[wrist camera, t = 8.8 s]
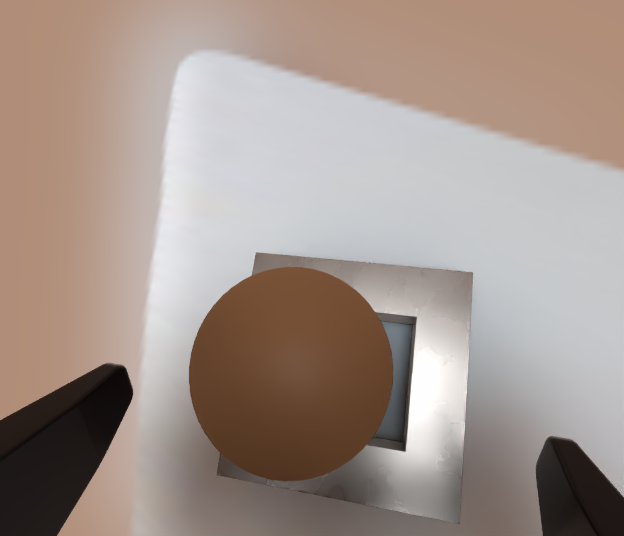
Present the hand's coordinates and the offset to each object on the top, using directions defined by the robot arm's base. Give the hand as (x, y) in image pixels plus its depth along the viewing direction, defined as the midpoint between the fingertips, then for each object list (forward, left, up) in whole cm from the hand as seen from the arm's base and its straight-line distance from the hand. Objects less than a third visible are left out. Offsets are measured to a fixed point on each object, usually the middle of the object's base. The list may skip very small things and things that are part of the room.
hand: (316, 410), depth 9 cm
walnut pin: (+1, 0, -10) cm, 10 cm away
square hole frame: (+1, 0, -10) cm, 10 cm away
